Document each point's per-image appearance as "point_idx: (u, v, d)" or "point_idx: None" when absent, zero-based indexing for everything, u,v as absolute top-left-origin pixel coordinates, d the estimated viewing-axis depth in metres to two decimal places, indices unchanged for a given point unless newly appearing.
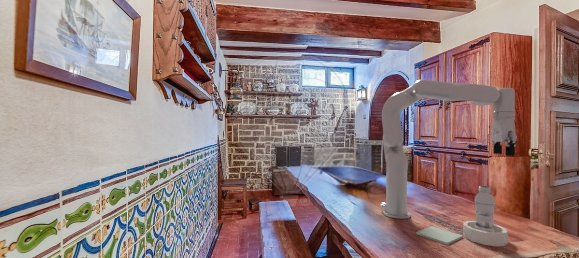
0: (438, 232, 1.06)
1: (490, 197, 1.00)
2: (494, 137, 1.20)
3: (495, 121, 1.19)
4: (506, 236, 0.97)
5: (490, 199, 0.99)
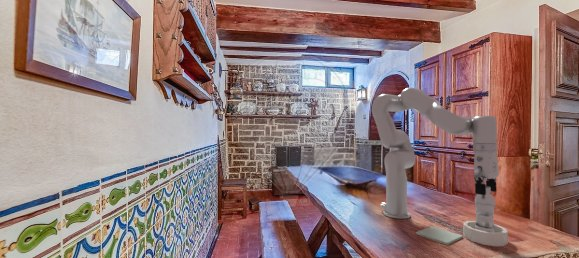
0: (438, 232, 1.06)
1: (490, 197, 1.00)
2: (492, 174, 0.99)
3: (492, 154, 0.99)
4: (506, 236, 0.97)
5: (490, 199, 0.99)
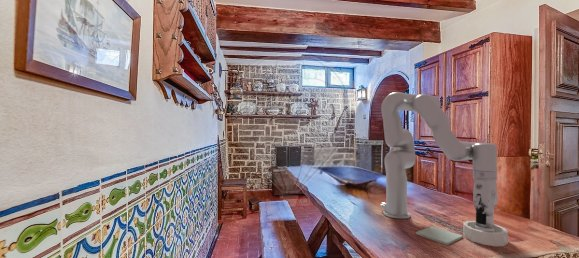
0: (438, 232, 1.06)
1: None
2: (491, 202, 0.99)
3: (491, 182, 0.99)
4: (506, 236, 0.97)
5: None
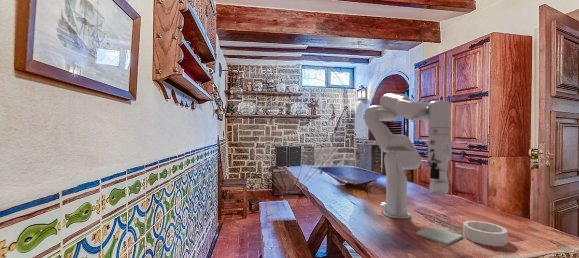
0: (438, 232, 1.06)
1: None
2: (444, 157, 1.01)
3: (444, 138, 1.02)
4: (506, 236, 0.97)
5: None
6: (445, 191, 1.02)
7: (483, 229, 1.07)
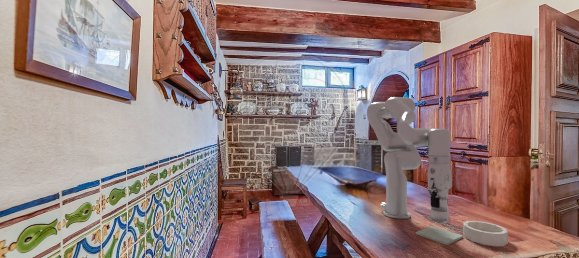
0: (438, 232, 1.06)
1: None
2: (444, 185, 1.01)
3: (444, 166, 1.02)
4: (506, 236, 0.97)
5: None
6: (446, 220, 1.01)
7: (483, 229, 1.07)
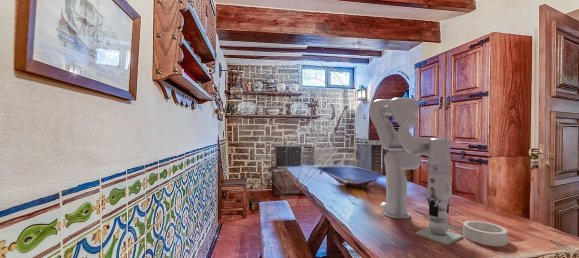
0: None
1: None
2: (444, 195, 1.01)
3: (444, 176, 1.02)
4: (506, 236, 0.97)
5: None
6: (445, 232, 1.02)
7: (483, 229, 1.07)
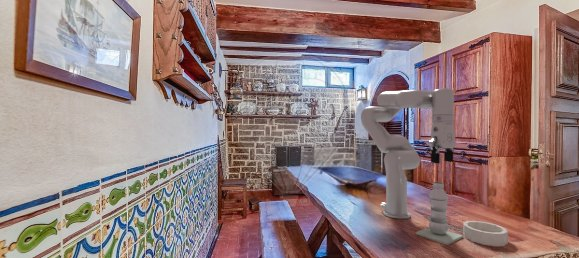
0: None
1: (443, 193, 1.03)
2: (447, 143, 1.03)
3: (448, 125, 1.04)
4: (506, 236, 0.97)
5: (442, 195, 1.02)
6: (445, 232, 1.02)
7: (483, 229, 1.07)
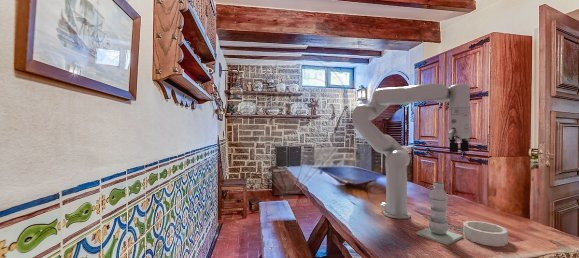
0: None
1: (443, 193, 1.03)
2: (464, 134, 1.13)
3: (464, 117, 1.13)
4: (506, 236, 0.97)
5: (442, 195, 1.02)
6: (445, 232, 1.02)
7: (483, 229, 1.07)
